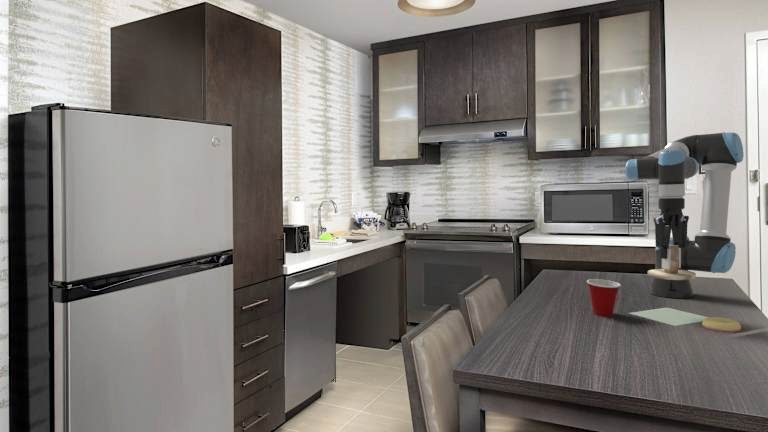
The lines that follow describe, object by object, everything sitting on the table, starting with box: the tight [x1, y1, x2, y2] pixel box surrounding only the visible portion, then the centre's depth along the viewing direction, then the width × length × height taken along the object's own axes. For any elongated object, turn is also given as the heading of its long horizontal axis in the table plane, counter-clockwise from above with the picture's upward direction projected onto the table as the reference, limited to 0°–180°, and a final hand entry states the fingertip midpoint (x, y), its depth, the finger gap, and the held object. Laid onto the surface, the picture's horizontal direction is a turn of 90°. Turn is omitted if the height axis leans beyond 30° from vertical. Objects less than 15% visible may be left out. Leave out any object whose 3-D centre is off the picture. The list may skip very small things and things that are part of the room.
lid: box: [647, 245, 697, 281], centre depth 173 cm, size 14×14×10 cm
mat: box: [628, 307, 709, 327], centre depth 173 cm, size 18×18×1 cm
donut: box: [701, 316, 742, 333], centre depth 159 cm, size 10×5×9 cm
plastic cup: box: [586, 278, 622, 317], centre depth 178 cm, size 11×11×12 cm
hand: (671, 267), depth 173 cm, fingers closed on lid, 4 cm apart
